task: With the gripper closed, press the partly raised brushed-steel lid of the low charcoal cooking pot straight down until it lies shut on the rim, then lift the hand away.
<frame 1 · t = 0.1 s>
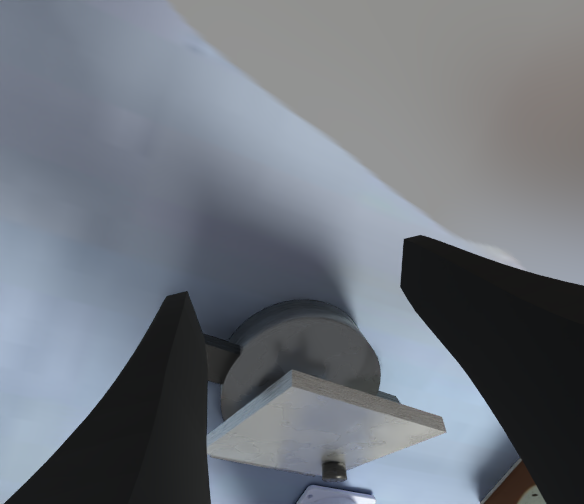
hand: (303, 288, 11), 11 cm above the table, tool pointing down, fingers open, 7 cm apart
pot: (294, 364, 25), on the table
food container: (520, 476, 39), on the table
lid: (310, 445, 20), point 6 cm above the table, hinge at 25.0°
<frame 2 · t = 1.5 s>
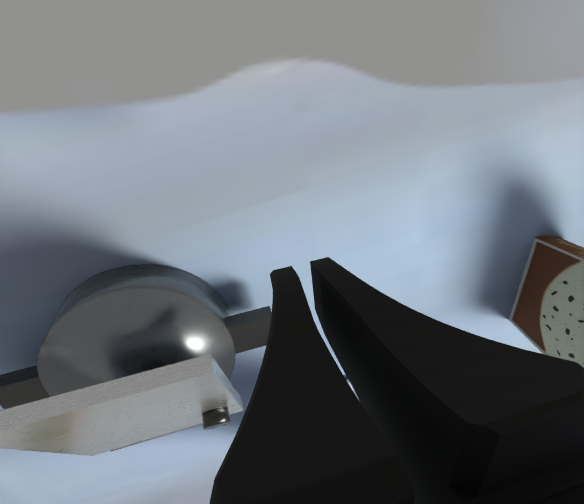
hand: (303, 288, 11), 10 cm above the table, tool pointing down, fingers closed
pot: (149, 332, 23), on the table
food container: (547, 272, 31), on the table
lid: (143, 423, 19), point 6 cm above the table, hinge at 25.0°
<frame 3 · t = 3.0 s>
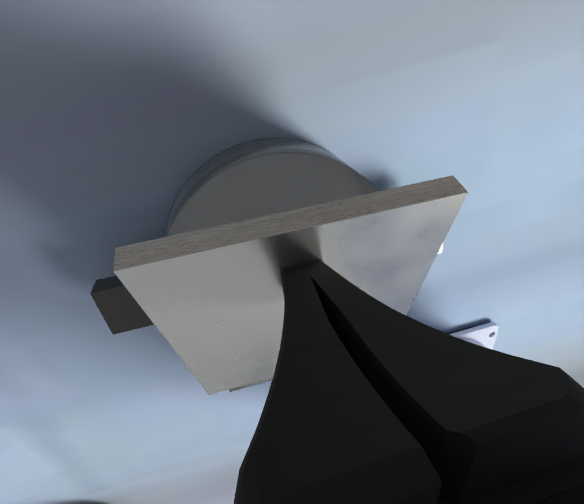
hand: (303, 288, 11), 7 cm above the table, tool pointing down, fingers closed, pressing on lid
pot: (274, 243, 18), on the table
lid: (304, 324, 14), point 6 cm above the table, hinge at 20.1°, touching gripper
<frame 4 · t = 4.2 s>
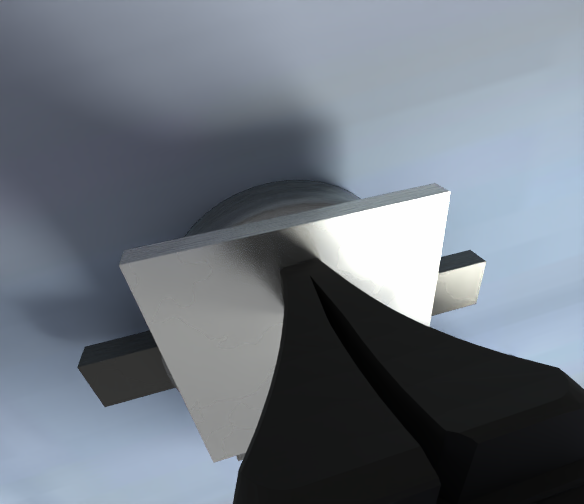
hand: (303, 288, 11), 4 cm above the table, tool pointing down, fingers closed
pot: (287, 290, 16), on the table
lid: (312, 357, 13), point 4 cm above the table, hinge at 0.5°
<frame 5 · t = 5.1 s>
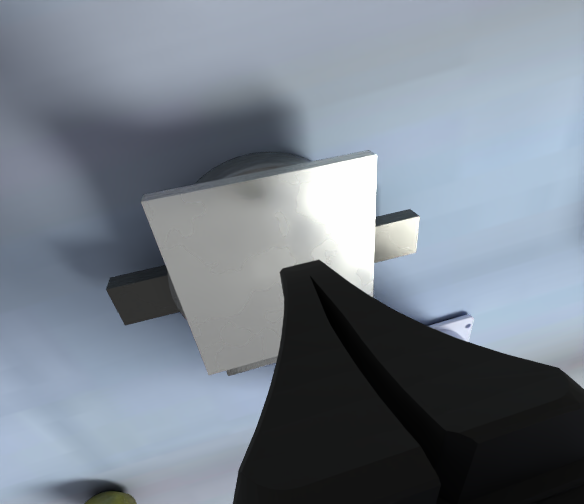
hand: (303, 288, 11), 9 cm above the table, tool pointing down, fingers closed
pot: (267, 243, 20), on the table
lime: (114, 489, 29), on the table
lid: (282, 285, 17), point 4 cm above the table, hinge at 0.5°
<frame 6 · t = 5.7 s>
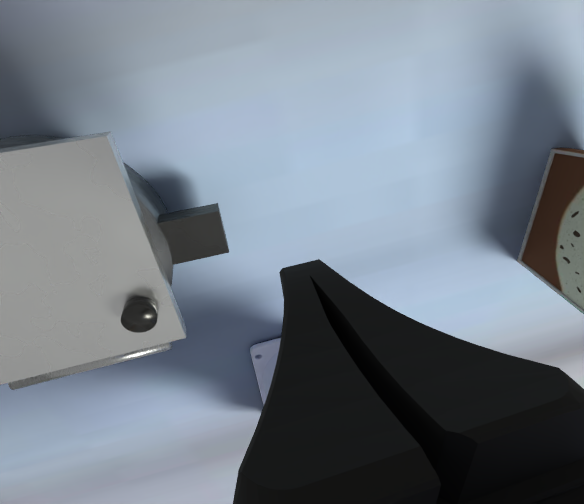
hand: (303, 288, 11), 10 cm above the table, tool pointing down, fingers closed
pot: (67, 240, 18), on the table
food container: (564, 201, 26), on the table
lid: (41, 288, 15), point 4 cm above the table, hinge at 0.5°
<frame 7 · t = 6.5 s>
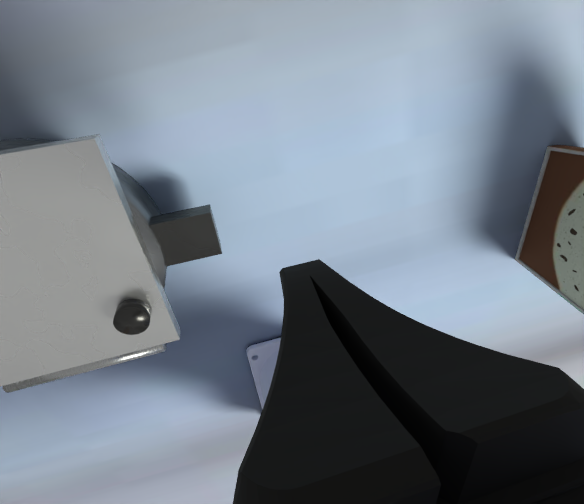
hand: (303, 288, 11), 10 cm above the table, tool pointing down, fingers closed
pot: (60, 243, 18), on the table
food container: (561, 199, 26), on the table
lid: (32, 291, 15), point 4 cm above the table, hinge at 0.5°
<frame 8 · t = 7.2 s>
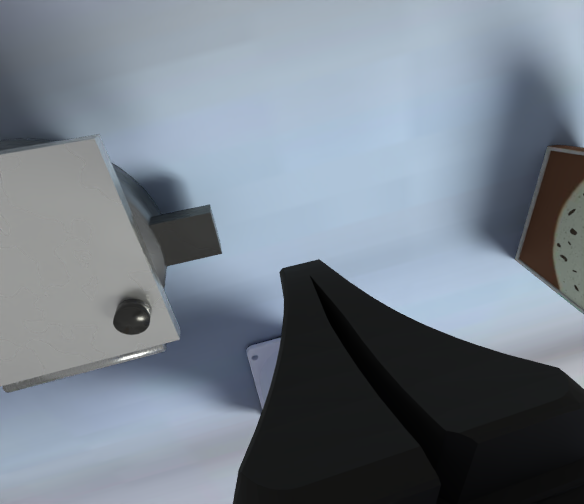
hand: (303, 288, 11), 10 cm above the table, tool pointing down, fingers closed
pot: (60, 243, 18), on the table
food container: (561, 199, 26), on the table
lid: (32, 291, 15), point 4 cm above the table, hinge at 0.5°
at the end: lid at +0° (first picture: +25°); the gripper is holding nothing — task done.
